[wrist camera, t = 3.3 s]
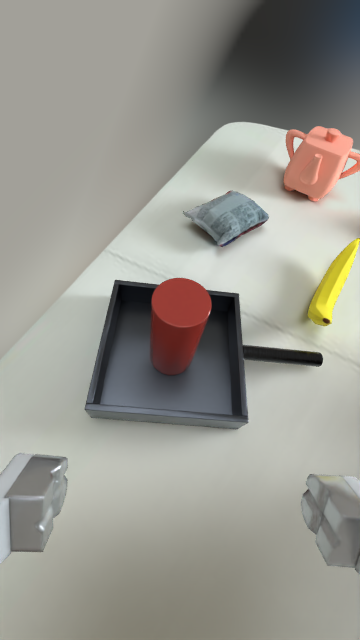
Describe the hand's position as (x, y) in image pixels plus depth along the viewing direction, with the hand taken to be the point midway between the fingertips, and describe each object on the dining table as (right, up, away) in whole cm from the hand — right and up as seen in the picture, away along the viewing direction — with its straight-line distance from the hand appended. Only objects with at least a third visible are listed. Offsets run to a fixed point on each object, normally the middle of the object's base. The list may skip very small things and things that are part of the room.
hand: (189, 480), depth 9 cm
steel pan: (+3, +1, +23) cm, 23 cm away
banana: (+20, +8, +30) cm, 37 cm away
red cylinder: (-1, +1, +22) cm, 22 cm away
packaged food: (+7, +21, +36) cm, 42 cm away
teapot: (+25, +32, +45) cm, 60 cm away
